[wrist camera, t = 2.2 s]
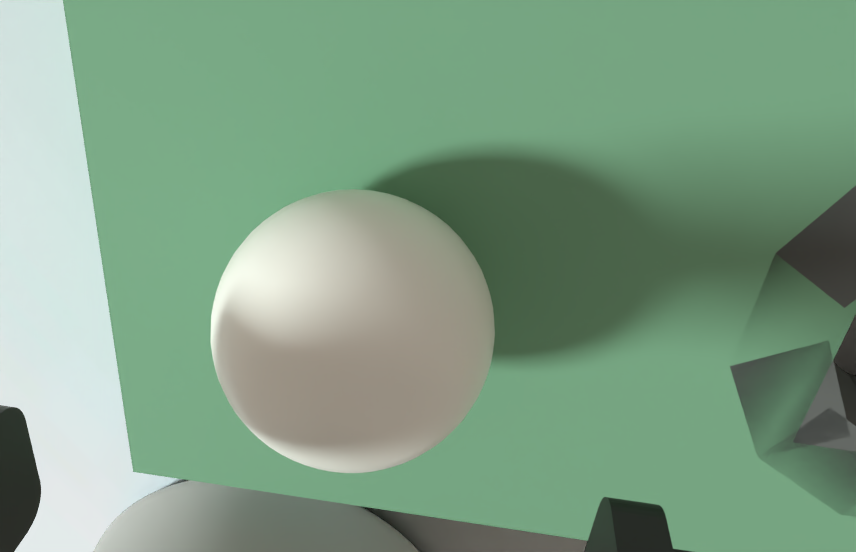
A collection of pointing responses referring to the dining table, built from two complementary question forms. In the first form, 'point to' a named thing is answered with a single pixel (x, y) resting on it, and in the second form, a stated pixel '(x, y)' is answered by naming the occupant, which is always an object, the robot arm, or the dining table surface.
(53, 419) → the dining table surface
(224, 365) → the ball
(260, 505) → the cylinder vase
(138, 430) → the green flat slab
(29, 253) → the dining table surface
